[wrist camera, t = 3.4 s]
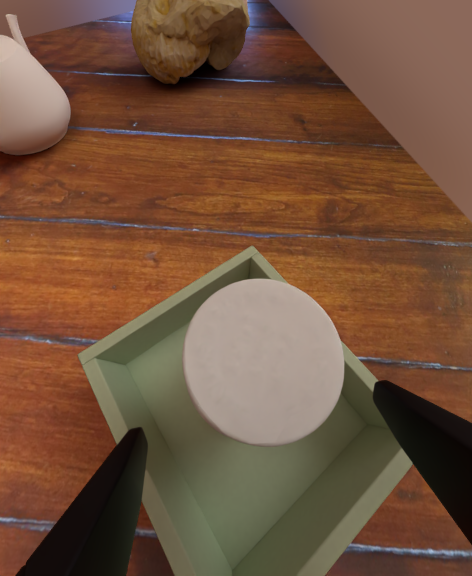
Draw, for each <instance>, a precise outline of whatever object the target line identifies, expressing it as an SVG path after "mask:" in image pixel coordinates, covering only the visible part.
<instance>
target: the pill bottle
mask: <svg viewBox="0 0 472 576" xmlns="http://www.w3.org/2000/svg"><path fill="white" fill-rule="evenodd" d="M182 365H183V373H184V378H185V383H186V386H187V390H188V393H189V396H190V399H191V401H192V403H193V405H194V406H195V408H196V410H197V411H198V413H199V414H200V416H201V417H202V418H203V419H204V420H205V421H206V422H207V423H208V424H209V425H210V426H211V427H212V428H214V429H215V430H216V431H218V432H219V433H221V434H223V435H225V436H227V437H229V438H232V439H234V440H236V441H239V442H241V443H244V444H248V445H253V446H260V447H276V446H282V445H286V444H290V443H293V442H296V441H298V440H300V439H303V438H304V437H306V436H307V435H309V434H310V433H312V432H314V431H315V430H316V429H317V428H318V427H319V426H320V425H321V424H322V423H323V422H324V421H325V420H326V419H327V417H328V416H329V415H330V413H331V412H332V410H333V409H334V407H335V405H336V403H337V401H338V399H339V396H340V393H341V390H342V386H343V380H344V355H343V349H342V344H341V341H340V338H339V335H338V333H337V330H336V328H335V326H334V324H333V322H332V321H331V319H330V318H329V316H328V315H327V313H326V312H325V311H324V310H323V309H322V307H321V306H320V305H319V304H318V303H317V302H316V301H315V300H314V299H312V298H311V297H310V296H309V295H307V294H306V293H304V292H303V291H301V290H300V289H298V288H296V287H294V286H292V285H289V284H287V283H284V282H280V281H276V280H271V279H248V280H242V281H239V282H235V283H232V284H230V285H228V286H226V287H224V288H222V289H220V290H218V291H217V292H215V293H214V294H213V295H211V296H210V297H209V298H208V299H207V300H206V301H205V302H204V303H203V304H202V305H201V306H200V308H199V309H198V310H197V311H196V313H195V314H194V316H193V318H192V320H191V322H190V324H189V326H188V329H187V332H186V335H185V339H184V344H183V351H182Z"/></svg>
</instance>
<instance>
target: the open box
mask: <svg viewBox="0 0 472 576" xmlns="http://www.w3.org/2000/svg"><path fill="white" fill-rule="evenodd" d="M248 279H271V280H276V281H280V282H284V283H287V282H286V281H285V280H284V279H283V278H282V277H281V275H280V274H279V273H278V272H277V271H276V270H275V269H274V268H273V267H272V266H271V265H270V264H269V263H268V261H267V260H266V259H265V258H264V257H263V256H262V255H261V254H260V253H258V251H257V250H256V249H255V247H254V246H250V247H249V248H247V249H246V250H244V251H242V252H241V253H239V254H238V255H236V256H234V257H233V258H231V259H230V260H228V261H226V262H225V263H223V264H222V265H220V266H218V267H217V268H215V269H214V270H212V271H210V272H209V273H207V274H206V275H204V276H202V277H201V278H199V279H198V280H196V281H194V282H193V283H191V284H190V285H188V286H186V287H185V288H183V289H182V290H180V291H178V292H177V293H175V294H174V295H172V296H170V297H169V298H167V299H166V300H164V301H162V302H161V303H159V304H158V305H156V306H154V307H153V308H151V309H150V310H148V311H146V312H145V313H143V314H142V315H140V316H138V317H137V318H135V319H134V320H132V321H130V322H129V323H127V324H126V325H124V326H122V327H121V328H119V329H118V330H116V331H114V332H113V333H111V334H110V335H108V336H106V337H105V338H103V339H102V340H100V341H98V342H97V343H95V344H94V345H92V346H90V347H89V348H87V349H86V350H84V351H82V352H81V353H79V354H78V358H79V360H80V362H81V364H82V365H83V366H82V367H83V369H84V371H85V374H86V376H87V378H88V380H89V383H90V385H91V387H92V390H93V392H94V394H95V396H96V399H97V401H98V403H99V405H100V408H101V410H102V412H103V414H104V417H105V419H106V421H107V424H108V426H109V428H110V430H111V433H112V435H113V437H114V439H115V442H116V444H118V443H119V442H120V440H121V439H122V438H123V436H124V435H125V434H126V433H127V431H128V430H129V429H131V428H136V427H142V428H143V430H144V433H145V436H146V439H147V442H148V452H147V461H146V469H145V477H144V486H143V494H142V503H143V505H144V507H145V510H146V512H147V514H148V516H149V519H150V521H151V523H152V525H153V528H154V530H155V532H156V535H157V537H158V539H159V541H160V544H161V546H162V548H163V550H164V553H165V555H166V557H167V559H168V562H169V564H170V566H171V569H172V571H173V573H174V575H175V576H325V575H326V573H327V572H328V571H329V570H330V568H331V567H332V566H333V564H334V563H335V562H336V561H337V559H338V558H339V557H340V556H341V554H342V553H343V552H344V551H345V549H346V548H347V547H348V546H349V544H350V543H351V542H352V540H353V539H354V538H355V537H356V535H357V534H358V533H359V532H360V530H361V529H362V528H363V527H364V525H365V524H366V523H367V522H368V520H369V519H370V518H371V517H372V515H373V514H374V513H375V511H376V510H377V509H378V508H379V506H380V505H381V504H382V503H383V501H384V500H385V499H386V498H387V496H388V495H389V494H390V493H391V491H392V490H393V489H394V487H395V486H396V485H397V484H398V482H399V481H400V480H401V479H402V477H403V476H404V475H405V474H406V472H407V471H408V470H409V469H410V467H411V466H412V465H413V463H412V462H411V460H410V459H409V457H408V456H407V455H406V453H405V452H404V450H403V449H402V448H401V446H400V445H399V443H398V442H397V440H396V438H395V437H394V435H393V434H392V432H391V430H390V429H389V427H388V425H387V424H386V422H385V420H384V419H383V417H382V415H381V414H380V412H379V410H378V409H377V407H376V405H375V404H374V402H373V390H374V384H375V382H377V381H378V380H377V379H376V378H375V377H374V376H373V375H372V374H371V372H370V371H369V370H368V369H367V368H366V367H365V366H364V365H363V364H362V363H361V362H360V361H359V360H358V358H357V357H356V356H355V355H354V354H353V353H352V352H351V351H350V350H349V349H348V348H347V347H346V346H345V344H344V343H343V342H342V341H341V340H340V341H341V344H342V349H343V355H344V380H343V386H342V390H341V393H340V396H339V399H338V401H337V403H336V405H335V407H334V409H333V410H332V412H331V413H330V415H329V416H328V417H327V419H326V420H325V421H324V422H323V423H322V424H321V425H320V426H319V427H318V428H317V429H316V430H315V431H314V432H312V433H310V434H309V435H307V436H306V437H304V438H303V439H300V440H298V441H296V442H293V443H290V444H286V445H282V446H276V447H260V446H253V445H248V444H244V443H241V442H239V441H236V440H234V439H232V438H229V437H227V436H225V435H223V434H221V433H219V432H218V431H216V430H215V429H214V428H212V427H211V426H210V425H209V424H208V423H207V422H206V421H205V420H204V419H203V418H202V417H201V416H200V414H199V413H198V411H197V410H196V408H195V406H194V405H193V403H192V401H191V399H190V396H189V393H188V390H187V386H186V383H185V378H184V373H183V365H182V351H183V344H184V339H185V335H186V332H187V329H188V326H189V324H190V322H191V320H192V318H193V316H194V314H195V313H196V311H197V310H198V309H199V308H200V306H201V305H202V304H203V303H204V302H205V301H206V300H207V299H208V298H209V297H210V296H211V295H213V294H214V293H215V292H217V291H218V290H220V289H222V288H224V287H226V286H228V285H230V284H232V283H235V282H239V281H242V280H248ZM287 284H288V283H287Z"/></svg>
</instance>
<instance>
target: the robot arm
mask: <svg viewBox="0 0 472 576" xmlns="http://www.w3.org/2000/svg"><path fill="white" fill-rule="evenodd" d="M373 402H374V404H375V405H376V407H377V409H378V410H379V412H380V414H381V415H382V417H383V419H384V420H385V422H386V424H387V425H388V427H389V429H390V430H391V432H392V434H393V435H394V437H395V438H396V440H397V442H398V443H399V445H400V446H401V448H402V449H403V450H404V452H405V453H406V455H407V456H408V457H409V459H410V460H411V462H412V463H413V464H414V466H415V467H416V468H417V470H418V471H419V473H420V474H421V475H422V477H423V478H424V480H425V481H426V482H427V484H428V485H429V486H430V488H431V489H432V491H433V492H434V493H435V495H436V496H437V498H438V499H439V500H440V502H441V503H442V504H443V506H444V507H445V509H446V510H447V511H448V513H449V514H450V516H451V517H452V518H453V520H454V521H455V522H456V524H457V525H458V527H459V528H460V529H461V531H462V532H463V534H464V535H465V536H466V538H467V539H468V540H469V542H470V543H471V545H472V423H471V422H469V421H467V420H465V419H463V418H461V417H459V416H457V415H455V414H453V413H451V412H449V411H447V410H445V409H443V408H441V407H439V406H437V405H435V404H433V403H431V402H429V401H427V400H425V399H423V398H421V397H419V396H417V395H415V394H413V393H411V392H409V391H407V390H405V389H403V388H401V387H399V386H397V385H395V384H393V383H391V382H389V381H387V380H382V381H377V382H375V384H374V390H373ZM147 452H148V442H147V439H146V436H145V433H144V430H143V428H142V427H136V428H131V429H129V430H128V431H127V433H126V434H125V435H124V436H123V438H122V439H121V440H120V442H119V443H118V444H117V445H116V447H115V448H114V449H113V451H112V452H111V453H110V454H109V456H108V457H107V458H106V460H105V461H104V462H103V464H102V465H101V466H100V467H99V469H98V470H97V471H96V473H95V474H94V475H93V476H92V478H91V479H90V480H89V482H88V483H87V484H86V485H85V487H84V488H83V489H82V491H81V492H80V493H79V494H78V496H77V497H76V498H75V500H74V501H73V502H72V503H71V505H70V506H69V507H68V509H67V510H66V511H65V512H64V514H63V515H62V516H61V518H60V519H59V520H58V522H57V523H56V524H55V525H54V527H53V528H52V529H51V531H50V532H49V533H48V534H47V536H46V537H45V538H44V540H43V541H42V542H41V543H40V545H39V546H38V547H37V549H36V550H35V551H34V552H33V554H32V555H31V556H30V558H29V559H28V560H27V562H26V565H24V566H23V567H22V568H21V569H20V570H19V572H18V573H17V574H16V575H15V576H126V573H127V568H128V563H129V559H130V554H131V549H132V544H133V540H134V535H135V530H136V526H137V521H138V516H139V511H140V506H141V501H142V494H143V486H144V477H145V469H146V461H147Z"/></svg>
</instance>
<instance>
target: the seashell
mask: <svg viewBox="0 0 472 576" xmlns="http://www.w3.org/2000/svg"><path fill="white" fill-rule="evenodd" d="M249 25H250V22H249V15H248V12H247V8H246V6H245V4H244V2H243V0H137V1H136V5H135V9H134V13H133V17H132V23H131V33H132V40H133V45H134V48H135V50H136V53H137V56H138V57H139V60H140V62H141V64H142V65H143V67H144V68H145V69H146V71H147V72H148V73H149V74H150V75H151V76H153V77H154V78H155V79H157V80H159V81H161V82H162V83H165V84H168V83H172V84H176V83H177V82H178V80H179V77H187V76H189V75H190V74H192V73H193V71H194V70H196V69H197V68H199V67H200V66H201V65H202V64H203V63H204V62H205V61H207V62H208V64H209V65H212V66H213V67H214V68H215V69H216V70H222V69H224V68H226V67H227V66H228V65H230V64H231V63H232V61H233V60H234V59H236V58H237V56H238V55H239V53H240V52H241V50H242V48H243V44H244V42H245V34H246V30H247V28H248V27H249Z"/></svg>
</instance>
